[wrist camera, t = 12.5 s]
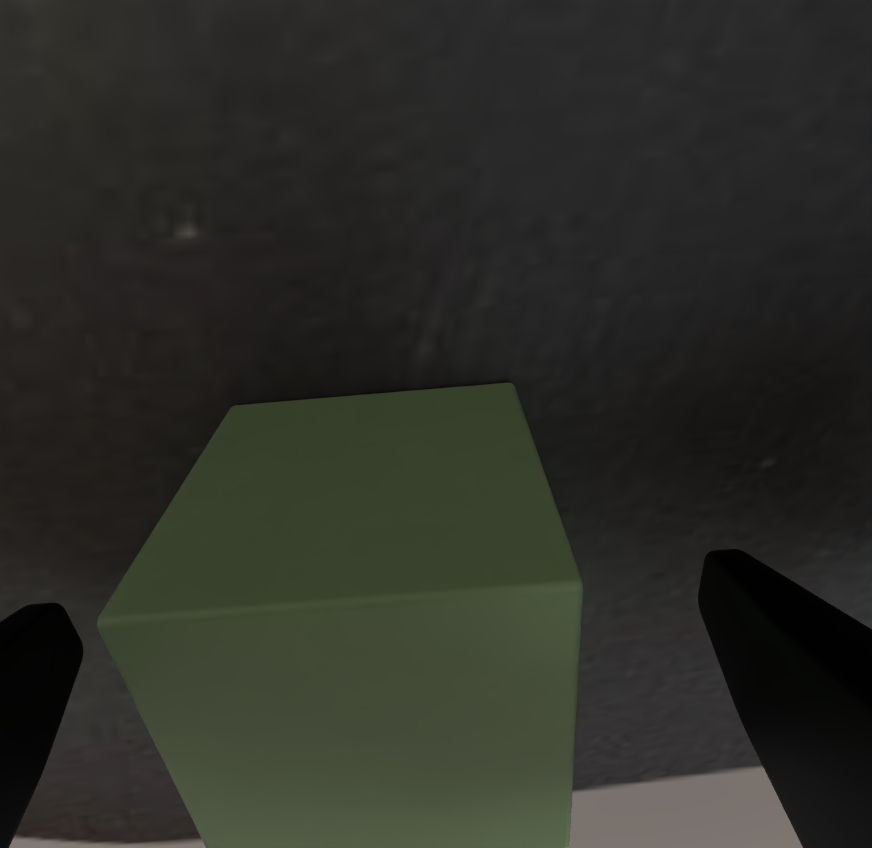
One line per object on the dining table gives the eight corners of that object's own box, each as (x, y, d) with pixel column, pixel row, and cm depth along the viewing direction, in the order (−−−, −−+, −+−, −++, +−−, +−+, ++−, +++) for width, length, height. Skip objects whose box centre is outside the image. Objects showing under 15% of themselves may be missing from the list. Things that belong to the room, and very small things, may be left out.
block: (517, 591, 11) (571, 851, 7) (286, 610, 11) (216, 877, 7) (514, 379, 9) (585, 584, 5) (230, 403, 9) (89, 624, 5)
